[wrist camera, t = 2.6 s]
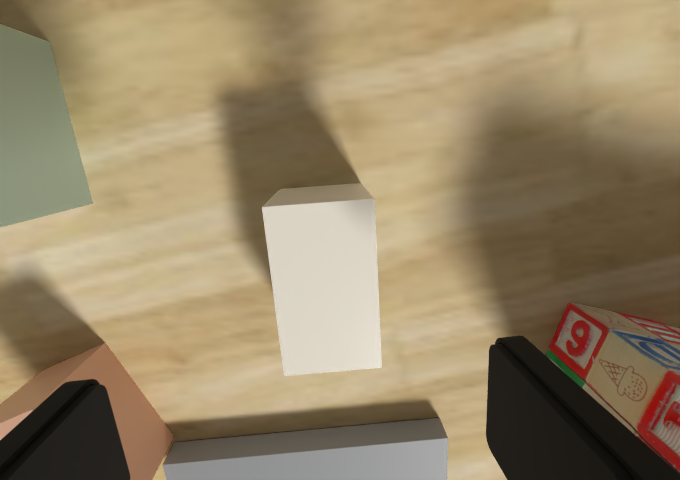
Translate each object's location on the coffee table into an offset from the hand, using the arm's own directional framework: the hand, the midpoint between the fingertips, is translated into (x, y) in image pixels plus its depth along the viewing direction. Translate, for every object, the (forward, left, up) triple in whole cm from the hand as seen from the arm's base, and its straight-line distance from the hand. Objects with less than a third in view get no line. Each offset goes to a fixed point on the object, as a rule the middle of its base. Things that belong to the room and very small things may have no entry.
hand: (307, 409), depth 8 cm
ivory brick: (-1, +1, -10) cm, 10 cm away
